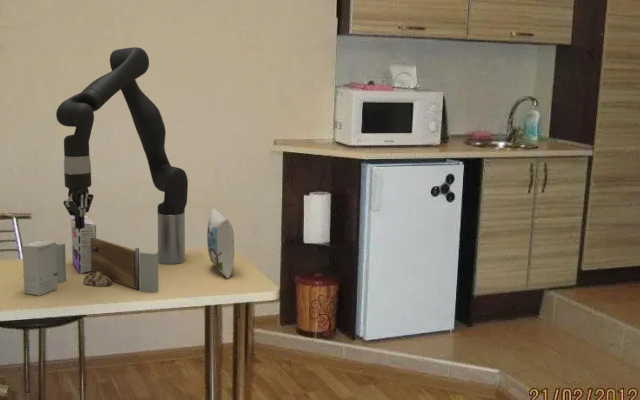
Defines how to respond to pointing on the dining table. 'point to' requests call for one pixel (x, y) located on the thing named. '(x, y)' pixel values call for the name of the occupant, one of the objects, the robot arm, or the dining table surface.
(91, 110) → the robot arm
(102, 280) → the mineral rock
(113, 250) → the door
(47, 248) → the skincare box
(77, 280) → the dining table surface
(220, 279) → the dining table surface
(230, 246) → the pouch
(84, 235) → the candy box
